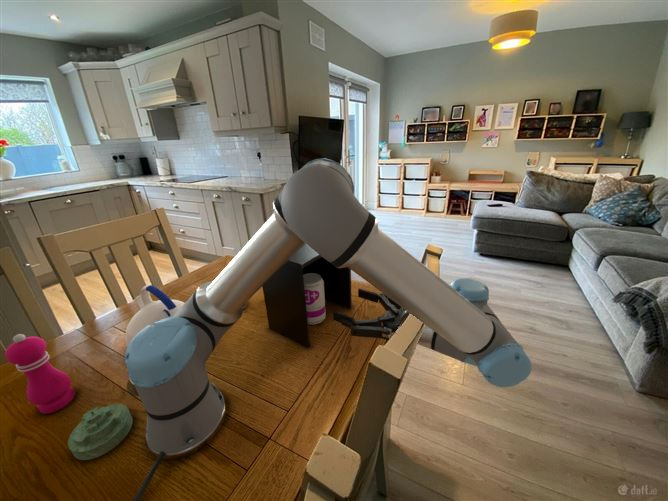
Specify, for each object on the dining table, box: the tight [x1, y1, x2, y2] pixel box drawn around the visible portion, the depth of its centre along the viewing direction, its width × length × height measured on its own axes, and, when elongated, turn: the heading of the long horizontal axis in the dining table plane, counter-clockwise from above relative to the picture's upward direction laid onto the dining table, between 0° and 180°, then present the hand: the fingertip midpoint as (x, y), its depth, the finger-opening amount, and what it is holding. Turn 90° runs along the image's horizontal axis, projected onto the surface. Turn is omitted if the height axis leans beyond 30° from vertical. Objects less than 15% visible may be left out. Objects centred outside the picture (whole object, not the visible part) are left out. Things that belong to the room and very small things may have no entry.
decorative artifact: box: [67, 403, 134, 461], centre depth 56 cm, size 10×7×10 cm
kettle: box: [124, 284, 186, 348], centre depth 83 cm, size 20×21×18 cm
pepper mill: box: [4, 333, 76, 415], centre depth 62 cm, size 7×7×20 cm
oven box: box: [261, 243, 353, 349], centre depth 87 cm, size 17×24×27 cm
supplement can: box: [303, 273, 327, 325], centre depth 89 cm, size 8×8×15 cm
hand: (346, 303), depth 80 cm, fingers open, 13 cm apart
